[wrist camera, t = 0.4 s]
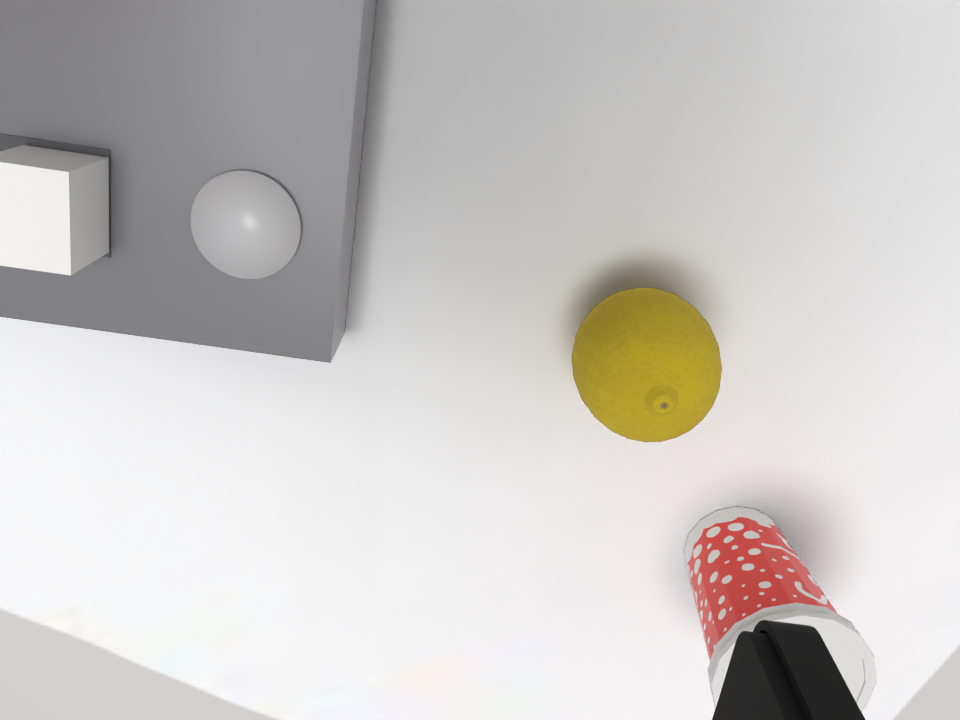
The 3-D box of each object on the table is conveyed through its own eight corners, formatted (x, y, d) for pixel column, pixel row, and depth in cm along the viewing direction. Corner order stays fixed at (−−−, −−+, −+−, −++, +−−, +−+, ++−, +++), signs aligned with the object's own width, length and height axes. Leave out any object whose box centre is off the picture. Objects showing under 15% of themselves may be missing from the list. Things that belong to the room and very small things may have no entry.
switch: (23, 144, 32) (-26, 158, 29) (108, 157, 32) (68, 172, 29) (27, 240, 33) (-20, 263, 30) (109, 252, 33) (71, 275, 30)
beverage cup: (815, 577, 42) (960, 830, 29) (692, 620, 43) (779, 882, 30) (776, 472, 40) (914, 693, 27) (649, 519, 41) (722, 754, 28)
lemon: (555, 379, 39) (569, 466, 31) (577, 256, 37) (599, 317, 29) (679, 396, 39) (724, 486, 31) (709, 275, 37) (764, 340, 29)
